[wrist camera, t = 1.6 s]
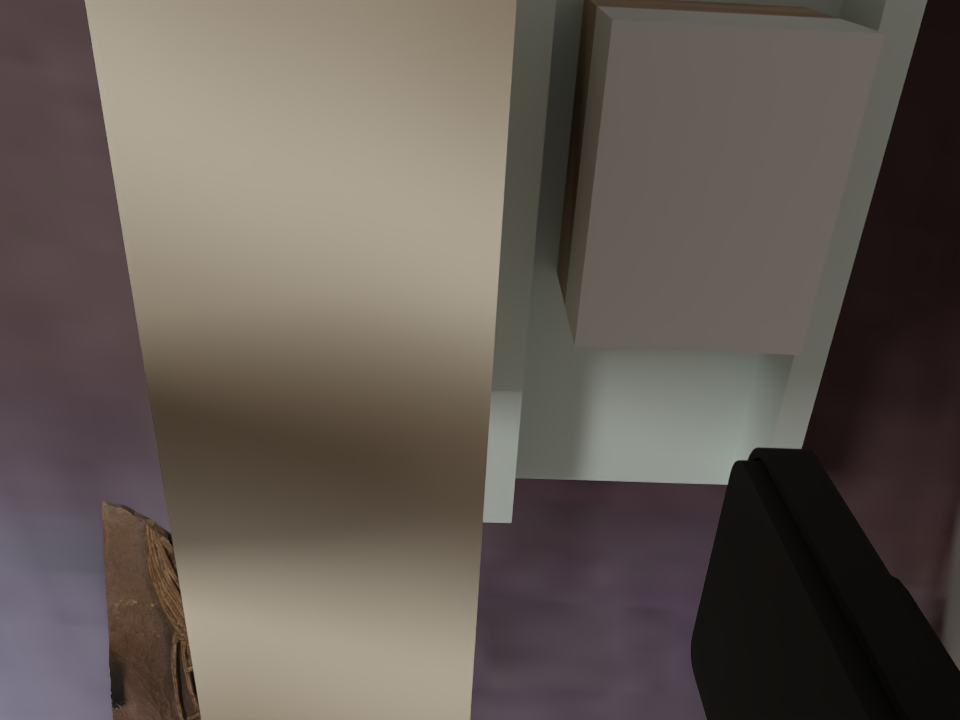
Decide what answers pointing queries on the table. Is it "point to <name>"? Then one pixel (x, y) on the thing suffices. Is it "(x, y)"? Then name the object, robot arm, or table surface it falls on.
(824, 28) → the grey offcut
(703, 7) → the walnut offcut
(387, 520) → the birch sheet
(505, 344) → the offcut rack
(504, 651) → the table surface
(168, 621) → the brown ridged slab
